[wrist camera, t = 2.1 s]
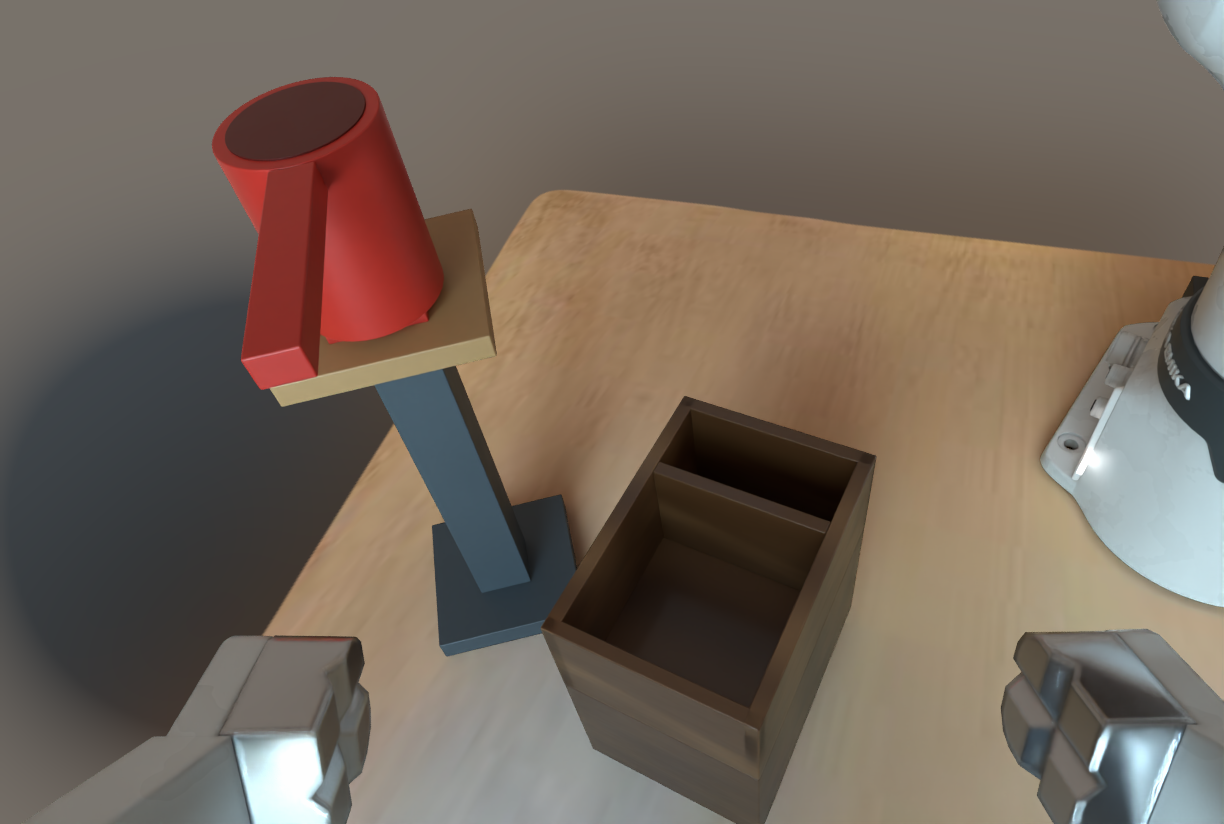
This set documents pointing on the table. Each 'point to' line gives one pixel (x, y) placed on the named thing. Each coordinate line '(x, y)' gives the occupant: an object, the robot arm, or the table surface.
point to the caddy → (714, 604)
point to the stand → (457, 455)
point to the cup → (325, 224)
